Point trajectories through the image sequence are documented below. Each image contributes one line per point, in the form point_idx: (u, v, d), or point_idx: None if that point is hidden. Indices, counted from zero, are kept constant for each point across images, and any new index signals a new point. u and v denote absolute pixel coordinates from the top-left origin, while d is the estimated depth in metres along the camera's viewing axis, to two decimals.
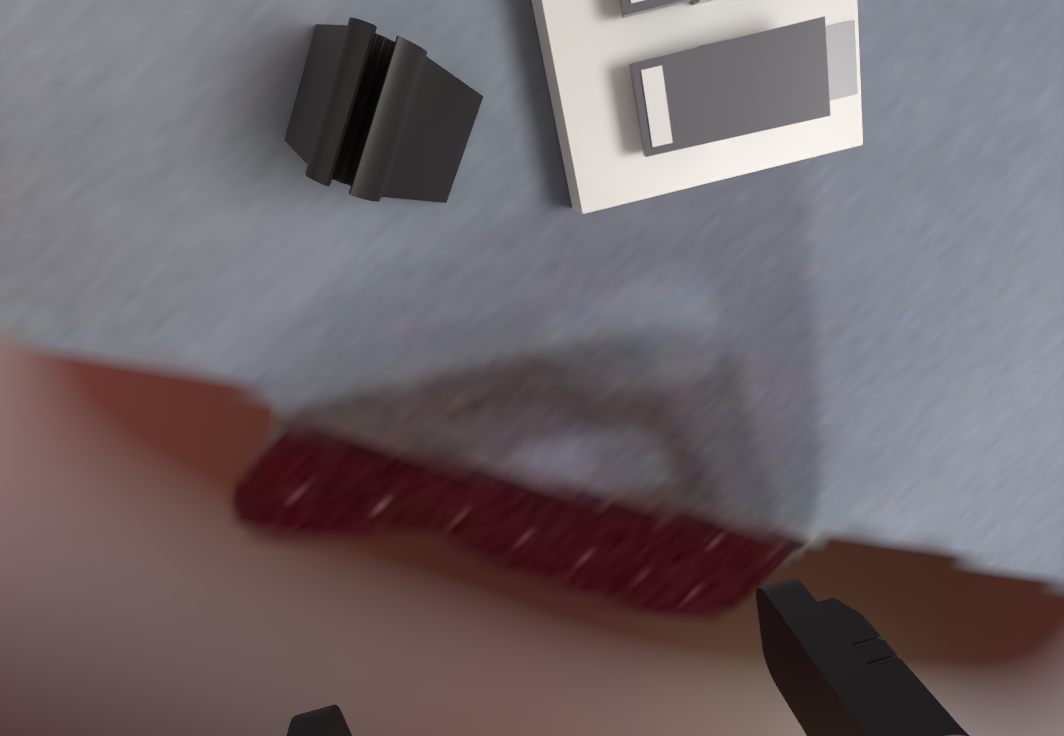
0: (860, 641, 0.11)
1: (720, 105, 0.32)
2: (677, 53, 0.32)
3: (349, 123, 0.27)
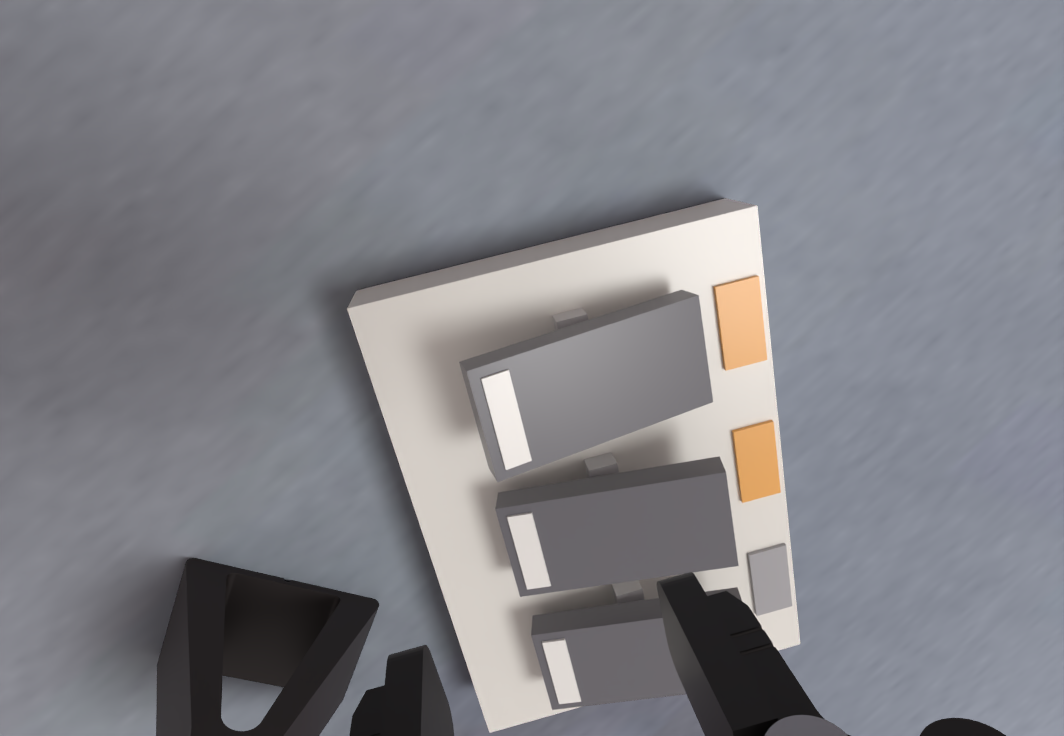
0: (743, 631, 0.12)
1: (632, 672, 0.29)
2: (581, 629, 0.28)
3: None
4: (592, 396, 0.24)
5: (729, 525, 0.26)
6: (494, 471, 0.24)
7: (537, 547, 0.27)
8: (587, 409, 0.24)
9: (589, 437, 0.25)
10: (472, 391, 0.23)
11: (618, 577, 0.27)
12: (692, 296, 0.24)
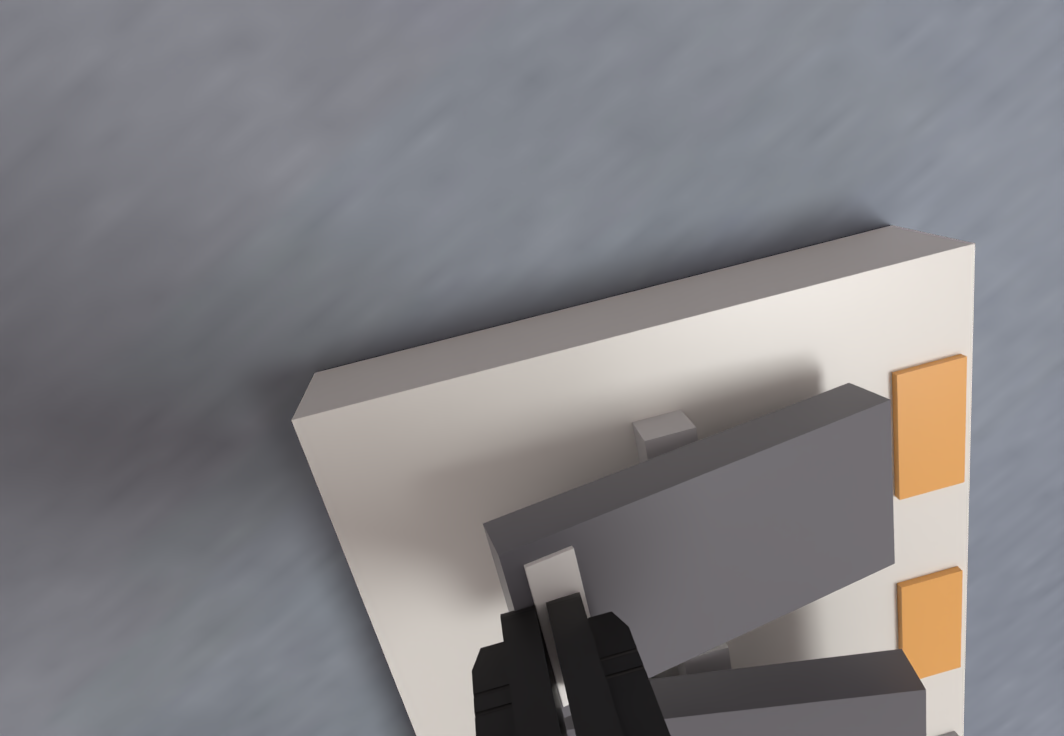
0: (619, 652, 0.12)
1: None
2: None
3: None
4: (710, 575, 0.14)
5: None
6: None
7: None
8: (700, 595, 0.14)
9: (701, 638, 0.15)
10: (508, 586, 0.13)
11: None
12: (879, 401, 0.14)
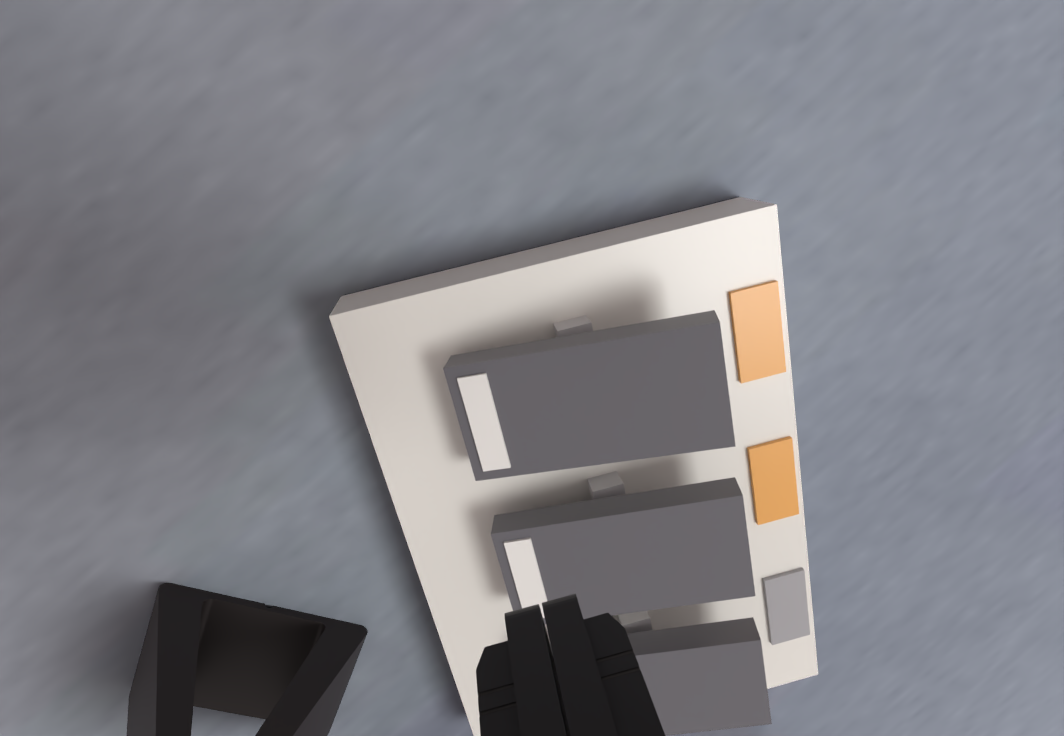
0: (614, 654, 0.12)
1: None
2: None
3: None
4: (580, 415, 0.22)
5: (745, 552, 0.24)
6: (473, 470, 0.24)
7: (536, 575, 0.25)
8: (574, 427, 0.22)
9: (576, 456, 0.23)
10: (450, 388, 0.22)
11: (624, 608, 0.25)
12: (712, 322, 0.21)
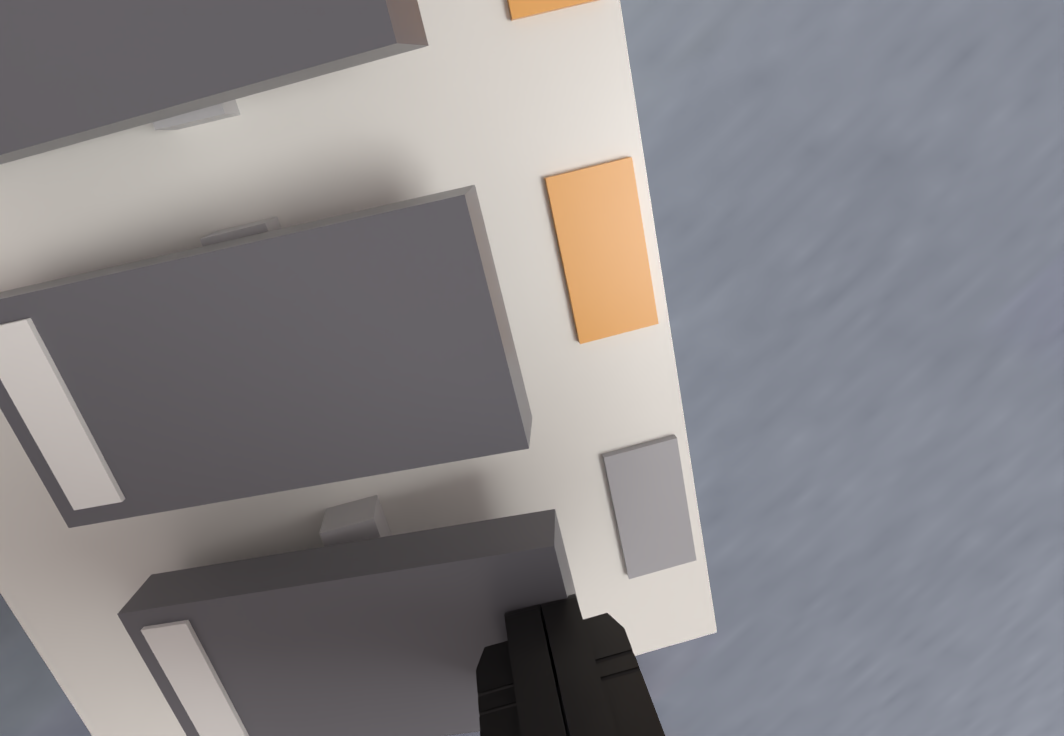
0: (614, 654, 0.12)
1: (343, 691, 0.14)
2: (219, 600, 0.13)
3: None
4: None
5: (494, 344, 0.11)
6: None
7: (67, 408, 0.12)
8: (40, 17, 0.09)
9: (68, 101, 0.10)
10: None
11: (266, 481, 0.12)
12: None
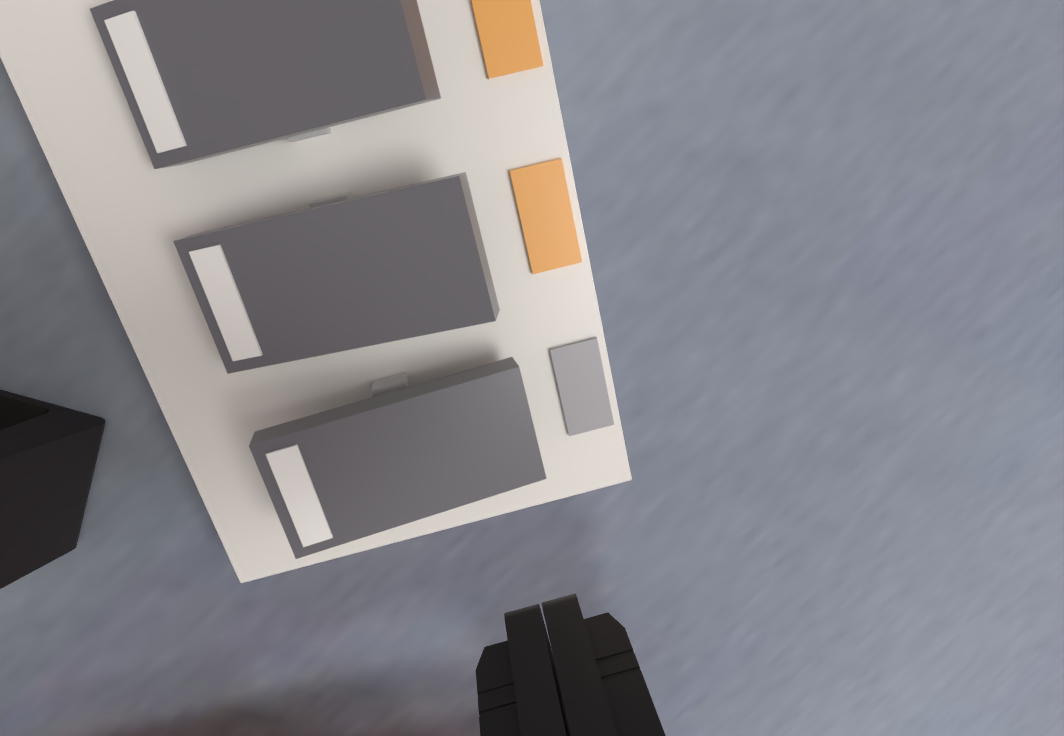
0: (614, 654, 0.12)
1: (394, 483, 0.23)
2: (318, 427, 0.21)
3: None
4: (247, 65, 0.18)
5: (475, 259, 0.20)
6: (151, 154, 0.20)
7: (235, 297, 0.21)
8: (243, 84, 0.18)
9: (253, 126, 0.19)
10: (104, 39, 0.19)
11: (345, 342, 0.21)
12: None
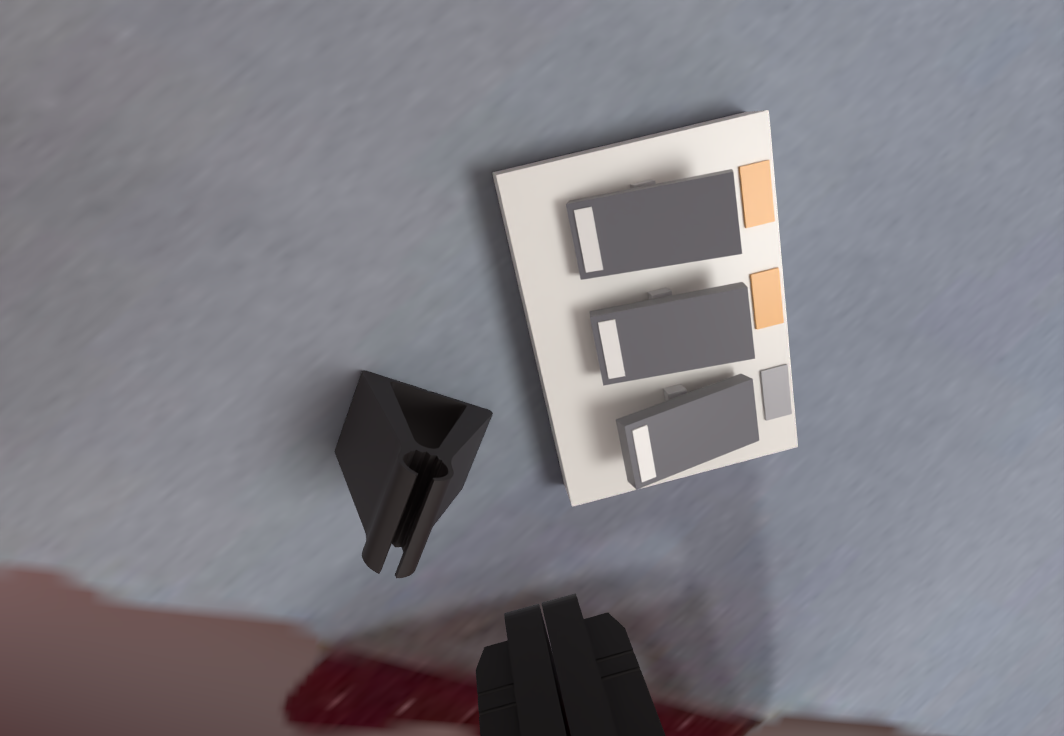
0: (614, 654, 0.12)
1: (688, 445, 0.41)
2: (657, 414, 0.40)
3: None
4: (648, 234, 0.37)
5: (749, 327, 0.38)
6: (579, 272, 0.39)
7: (617, 346, 0.39)
8: (643, 242, 0.37)
9: (644, 262, 0.37)
10: (569, 217, 0.37)
11: (672, 369, 0.40)
12: (729, 172, 0.35)
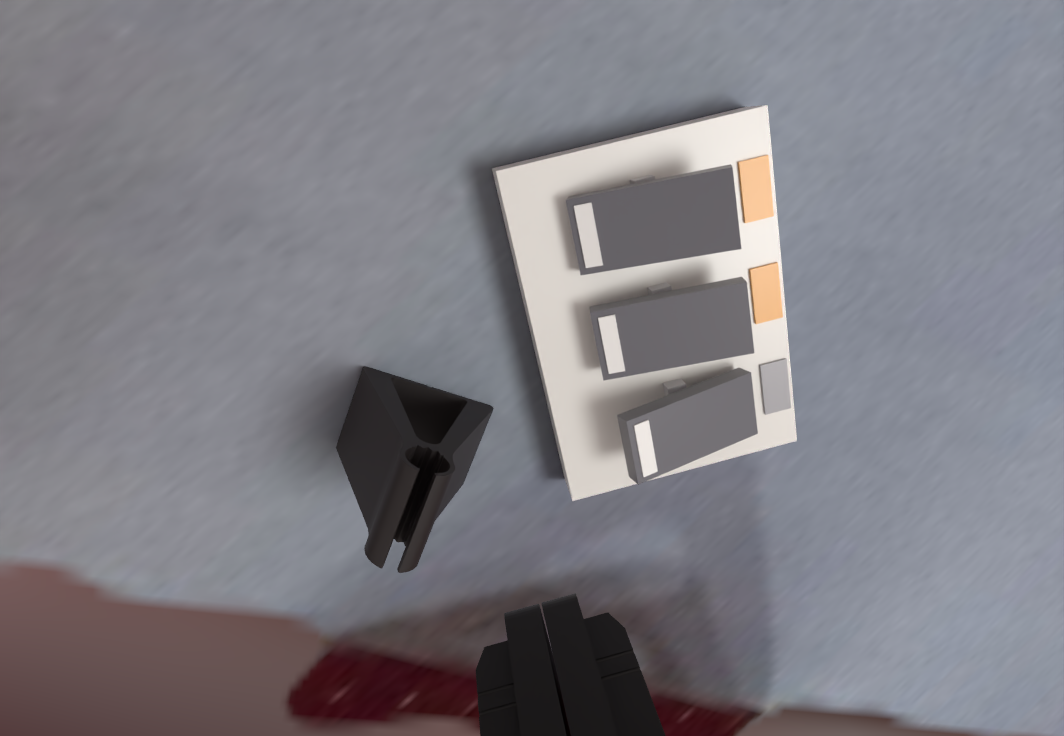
0: (614, 654, 0.12)
1: (688, 439, 0.41)
2: (658, 409, 0.40)
3: None
4: (647, 229, 0.37)
5: (748, 322, 0.39)
6: (579, 268, 0.39)
7: (617, 341, 0.39)
8: (643, 237, 0.37)
9: (643, 257, 0.38)
10: (568, 213, 0.38)
11: (671, 364, 0.40)
12: (728, 167, 0.35)
